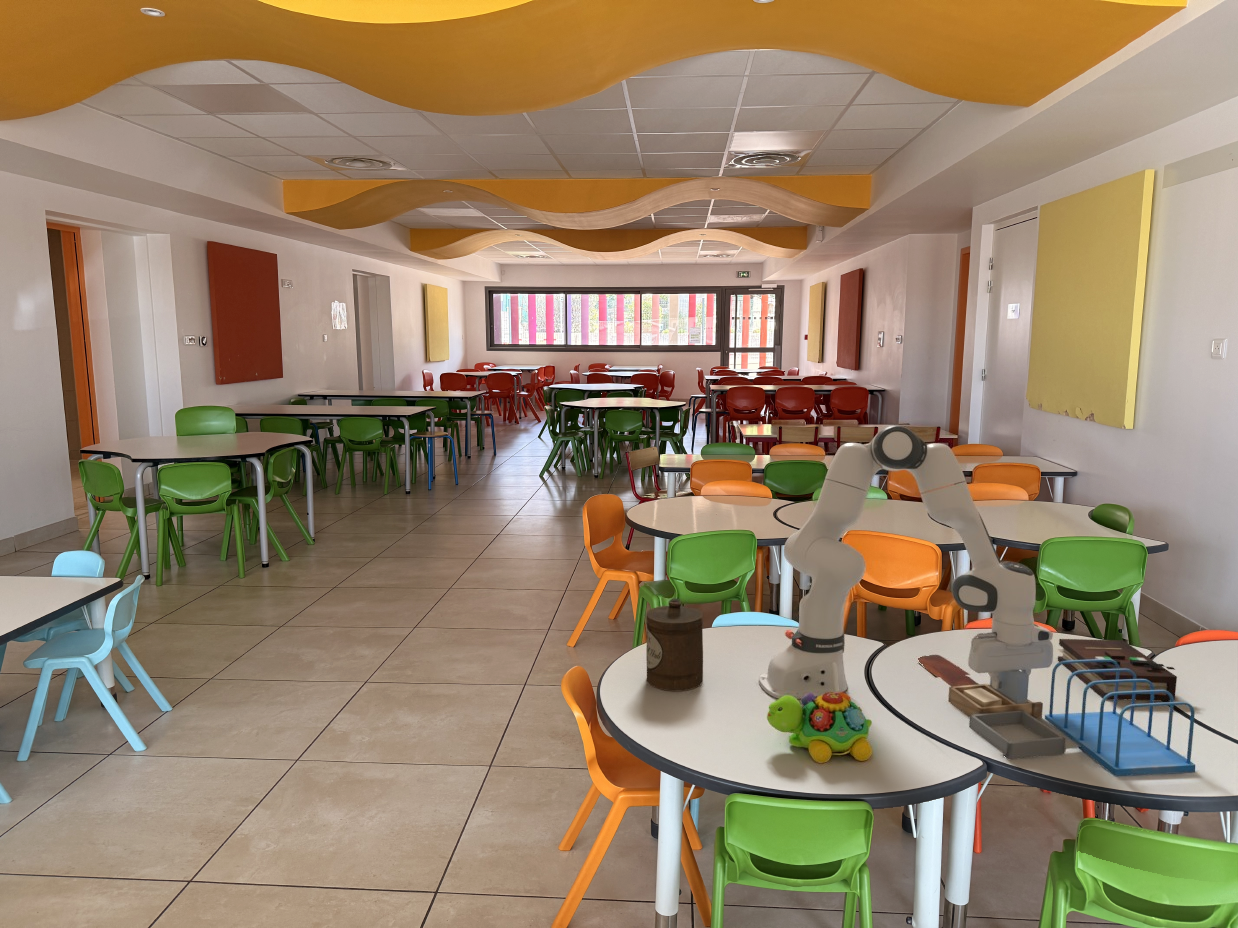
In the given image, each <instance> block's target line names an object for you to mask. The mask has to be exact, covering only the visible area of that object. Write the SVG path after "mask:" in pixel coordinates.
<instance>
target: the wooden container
mask: <svg viewBox="0 0 1238 928" xmlns="http://www.w3.org/2000/svg"><path fill="white" fill-rule="evenodd" d="M703 620H704V618H703V613H702V611H700V610H699V609H697V608H694V607H689V606H684V605H682V602H681V600H680V599H679V598H674V597H673V598H671V599H670V600H669V601H668V605H662V606H657V607H653V608H651V609H649V610H648V611H647V612H646V681H647V683H648V684H649V685H650V686H652V687H654V688H656V689H659V690H664V691H669V692H683V691H688V690H689V691H690V690H693V689H696V688H698V687H699V686H701V684H703V681H704V644H703V643H704V642H703V641H704V640H703V635H704V634H703V632H704V631H703V626H704V625H703V624H704V623H703V622H704V621H703Z"/></svg>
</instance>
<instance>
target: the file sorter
mask: <svg viewBox="0 0 1238 928" xmlns="http://www.w3.org/2000/svg"><path fill="white" fill-rule="evenodd" d="M1085 662H1113V663H1114V664H1115V665H1116V669H1097V670H1079V671H1075V672H1073V673H1072V672H1071V674H1070V675H1069V676H1068V679H1067V681H1066V682H1067V683H1066V694H1065V695H1066V696H1065V697H1066V698H1065V708H1064V709H1065V710H1064V713H1053V710H1054V708H1053V707H1054V696H1055V695H1054V694H1055V693H1054V692H1055V680H1056V672H1057V669H1058V668H1059V667H1060V666H1061V665H1062V664H1066V663H1085ZM1062 666H1063V665H1062ZM1121 671H1128V672H1130V673H1131V674H1132V675H1133V679H1124V680H1119V672H1121ZM1095 672H1116V680H1102V681H1093V682H1090V683H1089V684H1088V685H1085V687H1084V690H1083V693H1082V702H1081V703H1082V704H1081V705H1082V706H1081V712H1072V713H1071V712H1070V713H1069V706H1070V697H1071V695H1070V694H1071V692H1070V691H1071V683H1072V679H1073V678H1074V677H1076V676H1075V675H1077V674H1079V673H1095ZM1124 682H1133V691H1122V692H1118V685H1119V683H1124ZM1136 682H1147V683H1149V684H1150V686H1151V690H1142V691H1136ZM1104 683H1115V692H1111V693H1108V694H1107V695H1105V696H1104V698H1101V702H1100V705H1099V706H1100V707H1099V711H1095V712H1094V711H1093V712H1092V711H1091V712H1086V706H1087V693H1088V691H1089V689H1091V688H1090V687H1091V686H1092V685H1094V684H1104ZM1146 693H1151V698H1150V700H1149V703H1136V700H1135V695H1136V694H1146ZM1154 693H1166V694H1168V695H1169V697H1170V701H1163V702H1154ZM1125 694H1132V700H1131V702H1130V703H1131V704H1128V705H1126V706H1124V707H1123V708H1122V709H1121V711H1120V712H1117V706H1118V705H1117V704H1118V700H1117V696H1118V695H1125ZM1113 695H1114V699H1113V705H1112V711H1111V710H1109V711H1104V710H1105V709H1104V707H1105V703H1106V701H1107V700H1108V699H1107V698H1109V697H1110V696H1113ZM1049 697H1050V698H1049V713H1048V714H1044V720H1045V721H1047V722H1048V723H1050V724H1051V725H1052V726H1053V727H1055V728H1056V729H1058V730H1059V732H1061V733H1063V734H1064V736H1066V737H1068V738H1069V739H1070V740H1072V741H1073V742H1074V743H1076V744H1077V745H1078V749H1080V750H1081V751H1082V752H1083V753H1085V754H1087V756H1089V757H1090V758H1091V759H1093V760H1094V761H1095V762H1096V763H1098V764H1099V765H1100V766H1101V767H1103V769H1105V770H1107V771H1108V772H1109V773H1110V774H1112V775H1113V776H1115V777H1124V776H1125V777H1126V776H1139V775H1143V776H1144V775H1159V774H1180V773H1181V774H1183V773H1196V764H1195V763H1194V762H1193V761H1191V759H1192V758H1191V757H1192V750H1193V749H1192V748H1193V747H1192V746H1193V738H1194V726H1195V712H1196V711H1195V709H1194V707H1193V705H1192V704H1190V703H1189V702H1186V701H1174V698H1173V696H1172V694H1171V693H1170V692H1168V691H1166V690H1154V685H1153V684H1152V683H1151V682H1150V681H1149V680H1146V679H1137V678H1136V675H1135V673H1134V672H1133V671H1132V670H1130V669H1119V665H1118V663H1117V662H1116V661H1114V660H1112V659H1091V660H1069V661H1061V662H1059V661H1058V662H1057V663H1056V664H1055V665H1054V667H1053V669H1052V672H1051V684H1050V696H1049ZM1163 706H1164V707H1165V706H1166V707H1167V706H1169V714H1168V720H1167V721H1168V722H1167V723H1168V725H1167V737H1166V744H1165V743H1164V742H1162V741H1161V740H1159V739H1157V738H1156V737H1154V736H1153V735H1152V726H1153V725H1152V724H1153V713H1154V707H1163ZM1175 706H1187V707H1188V708H1189V709H1190V710H1189V711H1190V719H1189V729H1188V731H1189V733H1188V739H1187V740H1188V742H1187V750H1186V751H1187V753H1186V757H1185V756H1183V755H1182V754H1180V753H1179V752H1177V751H1175V750H1174V749H1172V748H1171V740H1172V729H1173V718H1174V717H1173V716H1174V707H1175ZM1143 707H1144V708H1145V707H1146V708H1147V707H1149V715H1148V724H1147V731H1145V729H1143V728H1141V727H1139V726H1138V725H1137V724H1135V723H1134V715H1135V708H1143ZM1128 710H1130V716H1129V719H1127V718H1126V717H1124V715H1125V713H1126V711H1128Z"/></svg>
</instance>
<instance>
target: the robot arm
mask: <svg viewBox="0 0 1238 928" xmlns="http://www.w3.org/2000/svg"><path fill="white" fill-rule="evenodd" d="M903 470H904V471H907V472H909V473H910V474H911V475H912V476H913V478H914V480H915V482H916V485H917V487H918V491H919V494H920V497H921V500H922V504H923V506H924V508H925V510H926V512H927V513H928V516H929V517H930V518H932V519H933V520H934V521H935V522H937V523H940V524H943V525H945V526H949V527H950V528H951V529H953V530H955V531H956V532H957V533H958V535H959V536H960V538H961V539H962V543H963V544H964V547H965V549H966V552H967V555H968V557H969V559H970V561H971V566H972V568H971V570H967V571H966V572H964V573H961V574H960V575H959V576H958V577H956V578H955V579H954V580H953V583H952V587H951V593H952V597H953V599H954V601H955V603H956V604H957V605H958V606H959V607H960V608H961V609H963V610H965V611H968V612H974V613H991V614H992V620H991V621H992V622H991V632H986V633H985V632H983V633H982V632H980V633H977V635H975V636H974V637H973V638H972V639H971V642H970V643H971V644H970V650H969V654H968V655H969V656H968V660H967V662H968V663H967V665H968V667H969V669H970V670H972V671H973V672H975V673H977V674H987V673H988V675H989V677H991V679H992V687H993V688H995V689H999V688H1002V686H1001V685H1002V681H999V680H998V678H997V676H998V675H999V672H1001V671H1013V670H1019V671H1021V672H1023V673H1025V674H1026V675H1028V676H1029V677H1030V675H1031V673H1032V669H1033V670H1034V669H1035V670H1036V669H1045V668H1047V669H1048V668H1050V667H1051V665H1052V664H1053V662H1054V661H1053V659H1054V646H1053V642H1052V640H1053V635H1054V634H1053V631H1050V630H1049V629H1048V628H1046V627H1043V626H1041V625H1038V624H1036V623H1034V622H1035V619H1034V615H1033V614H1034V612H1033V611H1034V608H1035V605H1036V578H1035V574H1034V572H1033V570H1032V569H1030V568H1029V567H1028V566H1027V565H1024V564H1022V563H1019V562H1015V561H1007V560H1005V561H1002V560H1001V559H1000V556H999V555H998V553H997V551H996V548H995V545H994V543H993V542H992V541H993V540H992V539H991V537H990V536H991V535H990V534H989V532H988V529H987V526H986V525H985V522H984V520H983V518H982V516H981V514H980V512H979V510H978V508H977V506H976V504H975V502H974V500H973V498H972V494H971V492H970V489H969V486H968V482H967V481H966V477H965V475H964V472H963V469H962V467H961V465H960V463H959V461H958V459H957V457H956V455H955V454H954V451H953V450H952V448H950V446H948V445H947V444H945V443H941V442H940V443H939V442H937V443H936V442H935V443H934V442H933V443H929V444H927V443H926V442H925V441H924V440H923V439H921V437H919V435H917V434H916V433H915V432H914V431H912V430H911V429H910V428H908V427H906V426H903V425H899V424H894V425H888V426H886V427H884V428H882V429H881V430H879V431H878V432H877V433H876V435H875V436H874V437H873V438H872V439H871V440H870V441H869V442H868V443H865V444H862V443H860V442H859V443H858V442H846V443H844V444H842V445H841V446H840V447H839V448H838V449H837V451H836V453H835V455H834V456H833V458H832V460H831V462H830V464H829V467H828V470H827V472H826V475H825V479H824V481H823V484H822V487H821V489H820V493H819V497H818V499H817V502H816V504H815V506H814V508H813V511H812V513H811V514H810V515H809V517H808V518H807V520H806V521H805V523H804V524H803V525H802V527H801V528H800V529H799V530H797V531H795V532H794V533H792V534H791V535H790V536H789V537H788V538H787V540H786V541H785V543H784V546H783V556H784V558H785V560H786V561H787V562H788V563H789V565H790V566H791V567H793V568H794V569H795V570H796V571H798V572H799V573H801V574H804V575H806V576H809V577H810V578H811V585H810V589H809V591H808V593H807V594H805V595H804V596H803V597H802V598H801V599H800V602H799V604H798V605H799V612H798V614H799V615H798V628H797V630H796V631H795V632H793V630H791V629H786V631H784V636H785V637H786V638H787V639H789V640H791V643H790V644H789V645H788V646H787V647H785V648H784V649H782V650H781V651H779V652H778V653H777V654H776V655H774V656H773V657H772V658H771V659H770V660H769V663H768V669H767V673H762V674H760V675H759V677H758V684H759V685H760V687H761V688H762V689H763V691H764V692H766V693H767V694H768V695H770V696H772V697H774V698H776V699H780V698H781V697H783V696H785V695H790V696H793V697H795V698H796V699H797V700H801V699H802V698H803V697H804V696H806V695H807V694H809V693H812V694H813V695H814V696H815V697H816V696H821V695H823V694H824V693H828V692H833V693H840V692H842V693H845V692H846V690H847V689H848V682H847V678H846V674H845V666H844V665H845V664H844V653H845V641H846V640H845V632H844V618H845V617H844V615H845V605H846V601H847V599H848V595H849V593H850V591H851V590H852V588H853V587H855V586H857V585H858V584H859V583H860V582H861V580H863V577H864V575H865V571H866V561H865V558H864V556H863V554H862V553H861V552H859V551H858V550H856V549H855V548H854V547H853V546H851V545H850V544H848V543H846V542H842V541H839V540H840V539H841V537H842V535H843V534H844V533H845V531H847V529H849V528H850V527H851V526H855V524H857V523H858V522H859V520H860V518H861V515H862V511H863V510H864V506H865V503H866V500H867V496H868V493H869V490H870V486H871V484H872V481H873V478H874V477H875V474H877V473H878V472H899V471H903ZM996 675H997V676H996Z"/></svg>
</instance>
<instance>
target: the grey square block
mask: <svg viewBox="0 0 1238 928" xmlns="http://www.w3.org/2000/svg"><path fill="white" fill-rule="evenodd" d="M996 676H997V675H996ZM989 677H990V676H989ZM997 678H998V680H999V681H1002V685H1001V686H1002V688H999V689H995V688H993V687H992V679H991V677H990V680H989V683H990V687H991V688H993V689H994V690H996V691H997V692H999V693H1000V694H1002V695H1004V696H1005V697H1007V698H1008V699H1010V700H1011V701H1013V702H1014V703H1016V704H1022V703H1027V699H1028V695H1029V684H1030V683H1029V682H1030V681H1029V680H1030V679H1029V678H1030V675H1029V676H1028V675H1026V674H1025V673H1023V672H1021V670H1013V671H1001V672H999V675H998V676H997Z"/></svg>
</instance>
